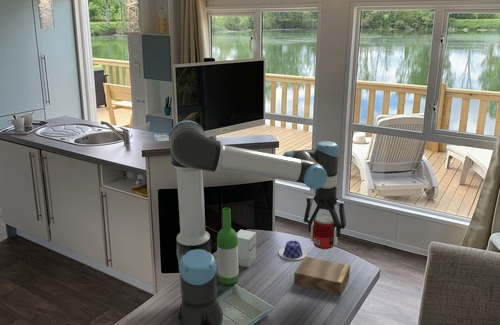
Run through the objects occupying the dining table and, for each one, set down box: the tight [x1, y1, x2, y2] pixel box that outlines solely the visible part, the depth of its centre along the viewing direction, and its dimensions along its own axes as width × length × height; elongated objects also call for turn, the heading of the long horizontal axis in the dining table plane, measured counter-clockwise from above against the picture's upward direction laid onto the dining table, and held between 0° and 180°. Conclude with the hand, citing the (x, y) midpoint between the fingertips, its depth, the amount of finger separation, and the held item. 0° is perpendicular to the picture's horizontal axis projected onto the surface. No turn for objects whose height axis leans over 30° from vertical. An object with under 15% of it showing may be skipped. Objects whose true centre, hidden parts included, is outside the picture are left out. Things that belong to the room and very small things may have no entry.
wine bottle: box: [216, 206, 240, 286], centre depth 176 cm, size 8×8×30 cm
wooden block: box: [293, 255, 351, 296], centre depth 179 cm, size 18×13×5 cm
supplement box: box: [236, 229, 257, 268], centre depth 192 cm, size 7×7×13 cm
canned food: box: [312, 213, 336, 250], centre depth 173 cm, size 8×8×11 cm
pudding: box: [278, 240, 308, 261], centre depth 199 cm, size 12×12×5 cm
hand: (323, 241), depth 175 cm, fingers closed on canned food, 8 cm apart
